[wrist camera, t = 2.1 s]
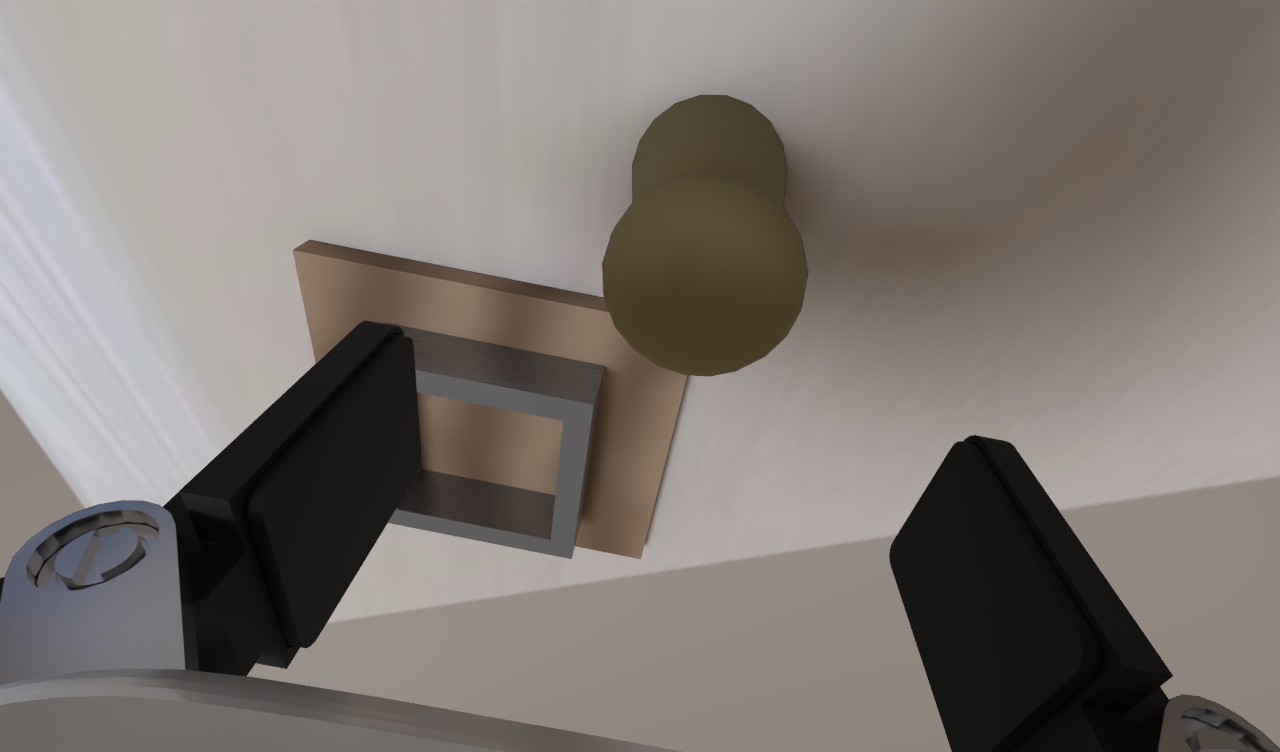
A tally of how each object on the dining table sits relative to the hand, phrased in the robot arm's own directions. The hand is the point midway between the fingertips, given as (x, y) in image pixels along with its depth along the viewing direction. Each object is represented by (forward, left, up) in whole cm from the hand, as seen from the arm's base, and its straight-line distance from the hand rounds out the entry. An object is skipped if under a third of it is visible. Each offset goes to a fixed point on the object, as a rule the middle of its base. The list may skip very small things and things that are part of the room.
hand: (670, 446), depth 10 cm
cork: (0, -1, -16) cm, 16 cm away
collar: (+8, +13, -14) cm, 21 cm away
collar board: (+8, +13, -15) cm, 22 cm away
